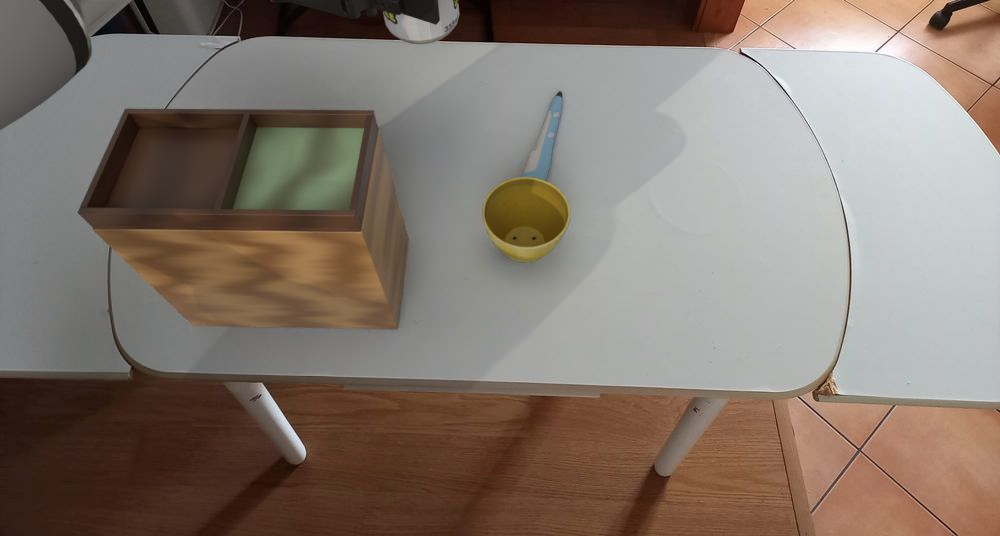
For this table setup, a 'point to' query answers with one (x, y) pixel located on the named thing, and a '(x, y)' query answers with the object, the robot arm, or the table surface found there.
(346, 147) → the tray
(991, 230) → the table surface
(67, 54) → the robot arm
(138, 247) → the stand
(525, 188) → the flower pot
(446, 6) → the beverage can
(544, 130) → the pen
